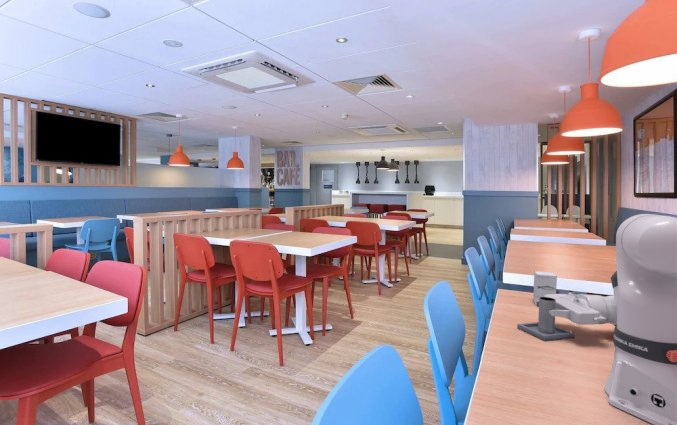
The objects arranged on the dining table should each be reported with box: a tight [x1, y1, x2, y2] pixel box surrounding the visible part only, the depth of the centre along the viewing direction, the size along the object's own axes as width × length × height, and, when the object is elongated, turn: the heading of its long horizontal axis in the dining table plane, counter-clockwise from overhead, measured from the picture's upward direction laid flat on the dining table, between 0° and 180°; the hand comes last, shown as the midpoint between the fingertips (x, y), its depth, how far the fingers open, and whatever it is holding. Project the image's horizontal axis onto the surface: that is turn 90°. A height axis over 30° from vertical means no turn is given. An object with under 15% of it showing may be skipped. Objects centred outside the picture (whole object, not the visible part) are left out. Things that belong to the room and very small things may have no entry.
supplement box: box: [532, 270, 558, 303], centre depth 148 cm, size 7×7×13 cm
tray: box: [516, 321, 575, 342], centre depth 116 cm, size 11×11×2 cm
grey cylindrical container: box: [537, 297, 556, 334], centre depth 116 cm, size 4×4×10 cm
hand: (542, 307), depth 115 cm, fingers open, 8 cm apart
